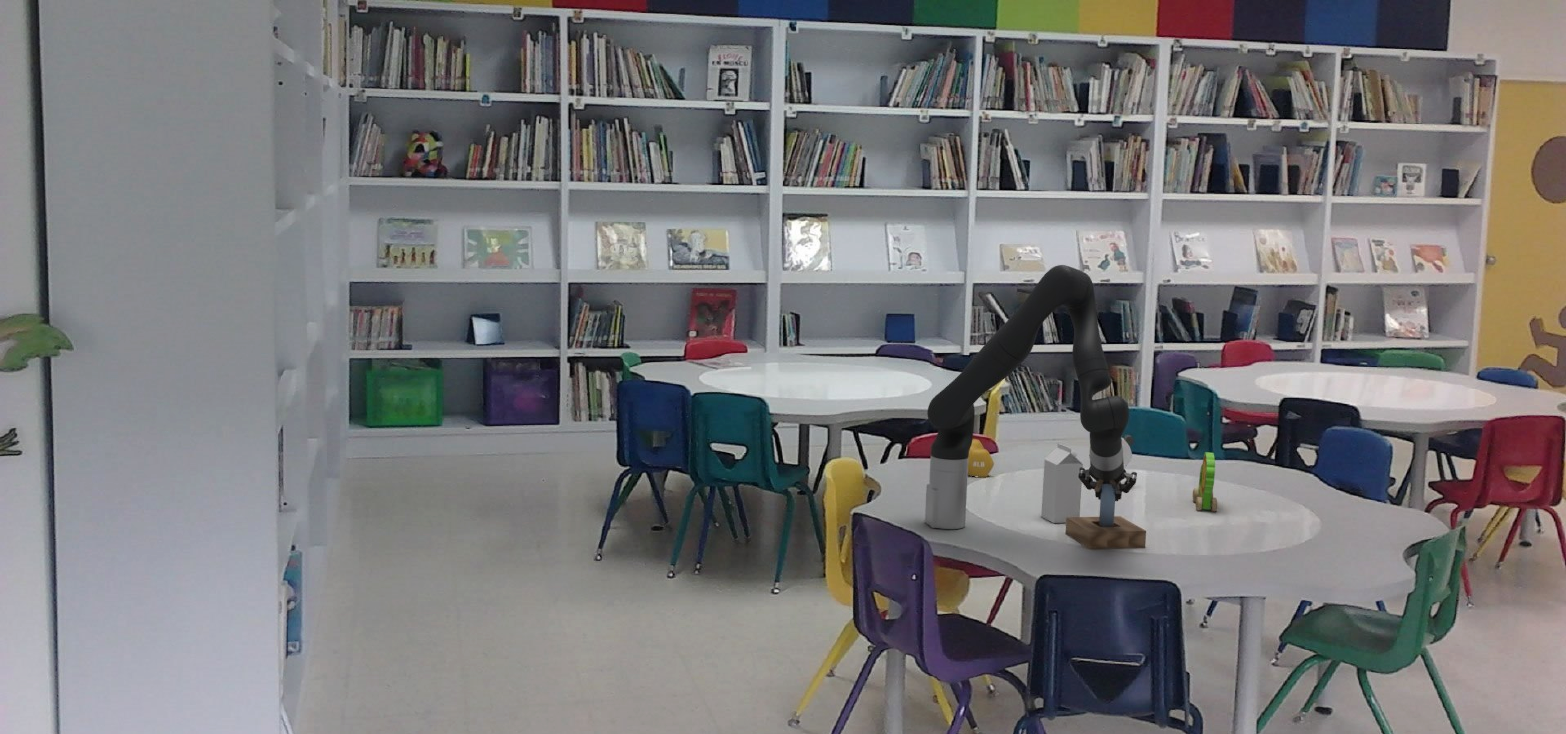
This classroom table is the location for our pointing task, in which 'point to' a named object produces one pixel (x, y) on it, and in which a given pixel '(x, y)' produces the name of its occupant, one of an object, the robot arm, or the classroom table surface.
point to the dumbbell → (979, 460)
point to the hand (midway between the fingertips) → (1108, 497)
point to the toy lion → (1206, 485)
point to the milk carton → (1061, 485)
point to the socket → (1105, 533)
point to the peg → (1107, 506)
